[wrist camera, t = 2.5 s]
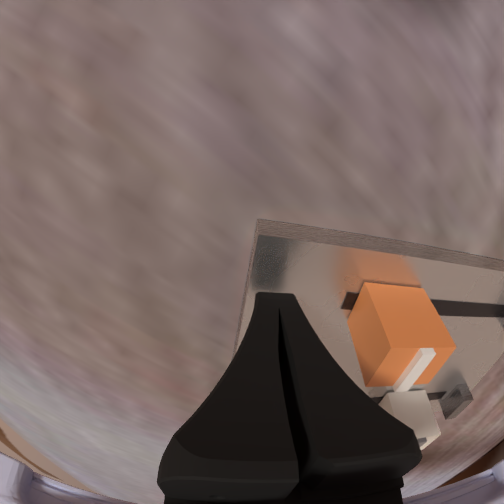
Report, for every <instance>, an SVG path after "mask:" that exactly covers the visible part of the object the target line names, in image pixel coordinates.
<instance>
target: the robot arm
mask: <svg viewBox="0 0 504 504" xmlns="http://www.w3.org/2000/svg"><path fill="white" fill-rule="evenodd" d="M421 459H422V454H421V450H420V446H419V443H418V440H417V438H416V435H415V433H414V430H413V429H411V428H410V427H408V426H407V425H405V424H404V423H402V422H401V421H399V420H398V419H396V418H395V417H393V416H392V415H391V414H389V413H388V412H387V411H385V410H384V409H383V408H382V407H380V406H379V405H378V404H377V403H376V402H374V401H373V400H372V399H371V398H370V397H369V396H368V395H367V394H366V393H365V392H364V391H363V390H362V389H360V388H359V387H358V386H357V385H356V384H355V382H354V381H353V380H352V379H351V378H350V377H349V376H348V375H347V374H346V373H345V372H344V370H343V369H342V368H341V367H340V366H339V364H338V363H337V362H336V361H335V359H334V358H333V357H332V356H331V354H330V353H329V351H328V350H327V349H326V347H325V346H324V344H323V343H322V342H321V340H320V339H319V337H318V335H317V334H316V332H315V331H314V329H313V328H312V326H311V324H310V323H309V321H308V319H307V317H306V316H305V314H304V312H303V310H302V308H301V307H300V305H299V303H298V301H297V299H296V296H295V295H294V294H293V293H274V292H258V293H256V294H255V302H254V310H253V313H252V317H251V320H250V322H249V325H248V328H247V330H246V333H245V335H244V337H243V340H242V342H241V344H240V346H239V348H238V350H237V352H236V354H235V356H234V358H233V360H232V361H231V363H230V365H229V366H228V368H227V370H226V371H225V373H224V375H223V376H222V378H221V379H220V380H219V382H218V383H217V385H216V386H215V388H214V389H213V391H212V392H211V393H210V395H209V396H208V397H207V398H206V399H205V401H204V402H203V403H202V404H201V406H200V407H199V408H198V409H197V410H196V412H195V413H194V414H193V415H192V416H191V417H190V418H189V419H188V420H187V421H186V422H185V423H184V424H183V425H182V426H181V427H180V428H179V430H178V431H177V432H176V433H175V434H174V435H173V437H172V439H171V440H170V442H169V444H168V446H167V448H166V450H165V452H164V454H163V456H162V459H161V462H160V465H159V471H158V478H157V484H158V486H159V487H160V489H161V490H162V492H163V493H164V494H165V500H164V504H504V459H503V460H501V461H500V462H498V463H497V464H496V465H494V466H493V467H492V468H491V469H489V470H486V471H484V472H482V473H480V474H477V475H474V476H472V477H469V478H467V479H464V480H462V481H459V482H456V483H453V484H450V485H447V486H445V487H441V488H438V489H435V490H432V491H429V492H425V493H422V494H418V495H415V496H411V497H407V498H403V499H402V495H401V490H400V488H402V487H403V486H404V483H403V478H402V476H403V475H405V474H406V473H408V472H409V471H410V470H411V469H413V468H414V467H415V466H416V465H417V464H418V463H419V462H420V461H421ZM0 504H136V503H131V502H127V501H123V500H118V499H114V498H110V497H107V496H103V495H99V494H96V493H92V492H89V491H85V490H82V489H79V488H76V487H73V486H70V485H67V484H64V483H61V482H59V481H56V480H53V479H51V478H48V477H45V476H43V475H40V474H38V473H35V472H33V470H32V469H31V468H29V467H28V466H27V465H25V464H24V463H22V462H20V461H18V460H16V459H14V458H12V457H10V456H8V455H6V454H4V453H2V452H0Z"/></svg>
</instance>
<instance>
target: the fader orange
mask: <svg viewBox="0 0 504 504" xmlns="http://www.w3.org/2000/svg"><path fill="white" fill-rule="evenodd" d="M347 324H348V327H349V330H350V334H351V337H352V341H353V344H354V347H355V351H356V355H357V358H358V362H359V365H360V369H361V372H362V376H363V380H364V384H365V387H381V386H393V389H394V392H406V391H408V390H409V389H410V387H411V386H412V385H417V384H428V383H429V382H430V381H431V380H432V379H433V377H434V376H435V375H436V374H437V372H438V371H439V370H440V369H441V367H442V366H443V365H444V363H445V362H446V361H447V359H448V358H449V357H450V356H451V354H452V353H453V351H454V350H455V349H456V345H455V343H454V341H453V339H452V338H451V336H450V334H449V332H448V330H447V328H446V327H445V325H444V323H443V321H442V319H441V318H440V316H439V314H438V312H437V311H436V309H435V307H434V305H433V304H432V302H431V300H430V299H429V297H428V295H427V293H426V292H425V290H424V288H415V287H405V286H396V285H387V284H377V283H368V282H364V284H363V287H362V289H361V291H360V294H359V296H358V298H357V300H356V303H355V305H354V307H353V309H352V312H351V314H350V316H349V318H348V320H347Z"/></svg>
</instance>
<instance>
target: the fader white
mask: <svg viewBox="0 0 504 504" xmlns="http://www.w3.org/2000/svg"><path fill="white" fill-rule="evenodd" d="M378 405H379V406H380V407H382V408H383V409H384V410H385V411H387V412H388V413H389V414H391V415H392V416H393V417H395V418H396V419H398V420H399V421H401V422H402V423H404V424H405V425H407V426H408V427H410V428H411V429H413V430H414V433H415V435H416V438H417V440H418V443H419V446H420V450H423V449H424V448H425V447H426V446H428V445H429V444H430V443H431V442H432V441H434V440H435V439H436V438H437V437H438V436H439V435H441V433H440V430H439V427H438V424H437V421H436V418H435V415H434V413H433V410H432V407H431V404H430V401H429V399H428V396H427V393H426V391H425V390H419V391H407V392H392V393H387V394H386V395H385V397H384V398H383V399H382V400H381V402H380V403H379V404H378Z"/></svg>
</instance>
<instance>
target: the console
mask: <svg viewBox="0 0 504 504" xmlns="http://www.w3.org/2000/svg"><path fill="white" fill-rule="evenodd" d="M364 282H368V283H377V284H387V285H396V286H405V287H415V288H424V290H425V292H426V293H427V295H428V297H429V299H430V300H431V302H432V304H433V305H434V307H435V309H436V311H437V312H438V314H439V316H440V318H441V319H442V321H443V323H444V325H445V327H446V328H447V330H448V332H449V334H450V336H451V338H452V339H453V341H454V343H455V345H456V349H455V350H454V351H453V353H452V354H451V356H450V357H449V358H448V359H447V361H446V362H445V363H444V365H443V366H442V367H441V369H440V370H439V371H438V372H437V374H436V375H435V376H434V377H433V379H432V380H431V381H430V382H429V383H428V384H417V385H412V386H411V387H410V389H409V390H408V391H419V390H425V391H426V393H427V396H428V399H429V401H430V404H431V407H432V410H433V412H439V411H443V414H444V417H445V420H447V419H452V418H455V417H456V416H457V415H458V414H460V413H461V412H462V411H463V410H464V409H465V408H466V407H467V406H468V405H469V404H470V403H471V402H472V401H473V397H472V395H471V392H470V391H471V390H472V389H473V388H474V387H475V386H476V384H477V383H478V382H479V381H480V380H481V379H482V378H483V376H484V375H485V374H486V373H487V372H488V371H489V369H490V368H491V367H492V366H493V365H494V363H495V362H496V361H497V360H498V358H499V357H500V356H501V355H502V353H503V352H504V261H502V260H498V259H493V258H488V257H483V256H478V255H473V254H467V253H462V252H457V251H452V250H446V249H441V248H436V247H430V246H425V245H419V244H414V243H408V242H402V241H396V240H391V239H385V238H379V237H373V236H367V235H361V234H354V233H348V232H342V231H336V230H329V229H323V228H316V227H310V226H303V225H296V224H289V223H282V222H275V221H268V220H261V219H258V220H257V226H256V231H255V237H254V242H253V248H252V253H251V259H250V265H249V270H248V276H247V281H246V287H245V292H244V298H243V303H242V309H241V314H240V320H239V326H238V331H237V337H236V342H235V348H234V353H233V358H234V356H235V354H236V352H237V350H238V348H239V346H240V344H241V342H242V340H243V337H244V335H245V333H246V330H247V328H248V325H249V322H250V320H251V317H252V313H253V310H254V302H255V294H256V293H258V292H274V293H293V294H294V295H295V296H296V299H297V301H298V303H299V305H300V307H301V308H302V310H303V312H304V314H305V316H306V317H307V319H308V321H309V323H310V324H311V326H312V328H313V329H314V331H315V332H316V334H317V335H318V337H319V339H320V340H321V342H322V343H323V344H324V346H325V347H326V349H327V350H328V351H329V353H330V354H331V356H332V357H333V358H334V359H335V361H336V362H337V363H338V364H339V366H340V367H341V368H342V369H343V370H344V372H345V373H346V374H347V375H348V376H349V377H350V378H351V379H352V380H353V381H354V382H355V384H356V385H357V386H358V387H359V388H360V389H362V390H363V391H364V392H365V393H366V394H367V395H368V396H369V397H370V398H371V399H372V400H373V401H374V402H376V403H377V404H379V403H380V402H381V400H382V399H383V398H384V397H385V395H386V394H387V393H392V392H394V389H393V386H381V387H365V384H364V380H363V376H362V372H361V369H360V365H359V362H358V358H357V355H356V351H355V347H354V344H353V341H352V337H351V334H350V330H349V327H348V324H347V320H348V318H349V316H350V314H351V312H352V309H353V307H354V305H355V303H356V300H357V298H358V296H359V294H360V291H361V289H362V287H363V284H364ZM232 360H233V359H232ZM406 392H407V391H406Z"/></svg>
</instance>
